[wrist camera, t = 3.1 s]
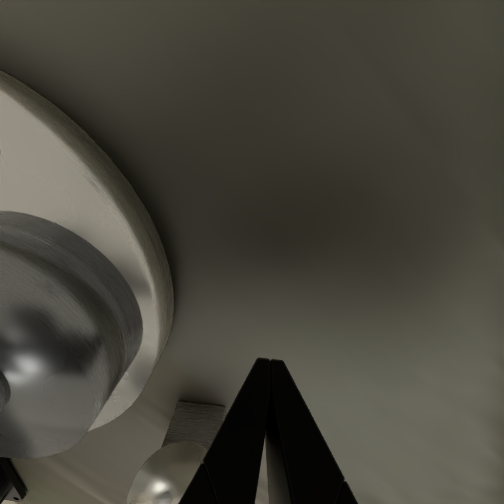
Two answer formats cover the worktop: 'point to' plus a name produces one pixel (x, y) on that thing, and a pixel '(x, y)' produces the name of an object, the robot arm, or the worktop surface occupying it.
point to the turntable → (86, 214)
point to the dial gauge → (177, 455)
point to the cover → (58, 335)
